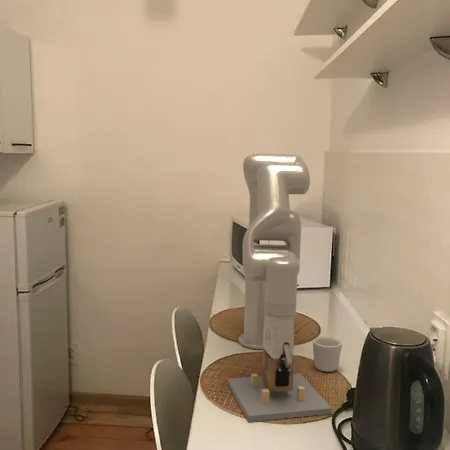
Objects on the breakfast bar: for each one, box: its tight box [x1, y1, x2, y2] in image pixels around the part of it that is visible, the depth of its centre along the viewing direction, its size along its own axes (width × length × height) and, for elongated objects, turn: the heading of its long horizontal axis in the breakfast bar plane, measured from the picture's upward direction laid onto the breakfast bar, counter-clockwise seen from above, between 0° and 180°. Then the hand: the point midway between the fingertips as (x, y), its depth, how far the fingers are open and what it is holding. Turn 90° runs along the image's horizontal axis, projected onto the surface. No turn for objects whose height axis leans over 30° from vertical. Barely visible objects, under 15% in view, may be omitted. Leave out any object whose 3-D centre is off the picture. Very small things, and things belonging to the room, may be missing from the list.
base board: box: [227, 372, 333, 423], centre depth 130 cm, size 20×20×4 cm
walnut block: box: [261, 350, 295, 392], centre depth 130 cm, size 6×6×8 cm
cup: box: [312, 336, 343, 373], centre depth 150 cm, size 11×8×8 cm
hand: (277, 379), depth 130 cm, fingers closed on walnut block, 6 cm apart
